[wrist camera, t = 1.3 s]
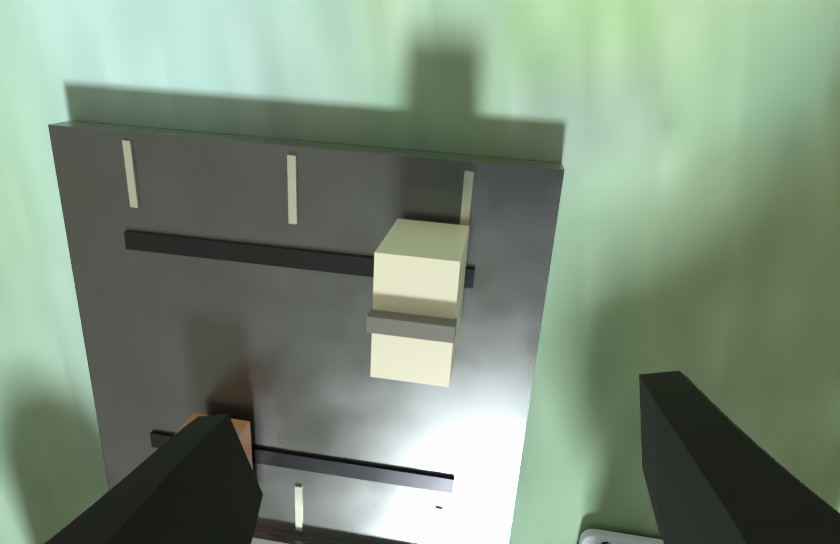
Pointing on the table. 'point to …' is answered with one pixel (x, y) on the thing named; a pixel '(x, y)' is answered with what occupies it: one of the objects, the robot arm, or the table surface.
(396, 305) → the cream fader
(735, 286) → the table surface
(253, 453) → the console
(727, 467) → the robot arm
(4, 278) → the table surface
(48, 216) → the table surface
